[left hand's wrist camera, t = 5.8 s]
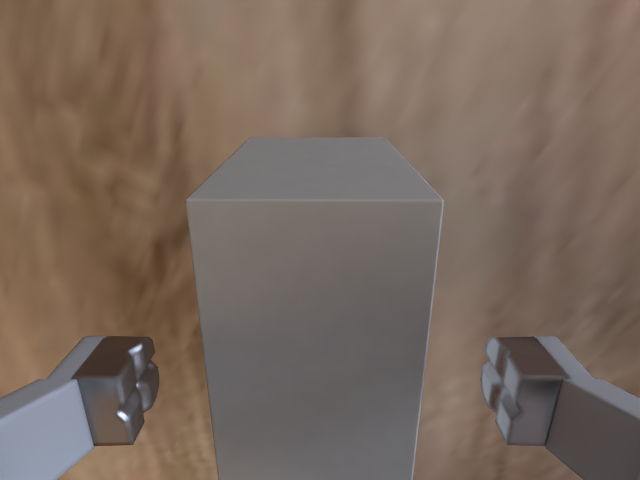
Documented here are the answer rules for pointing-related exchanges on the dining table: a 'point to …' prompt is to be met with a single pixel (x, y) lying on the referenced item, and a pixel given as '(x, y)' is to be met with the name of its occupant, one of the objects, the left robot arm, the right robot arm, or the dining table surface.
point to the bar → (315, 307)
